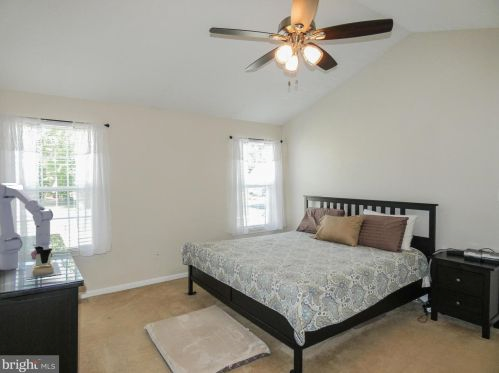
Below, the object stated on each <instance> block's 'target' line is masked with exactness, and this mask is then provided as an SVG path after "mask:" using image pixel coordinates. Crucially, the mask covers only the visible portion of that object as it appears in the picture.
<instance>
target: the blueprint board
mask: <svg viewBox="0 0 499 373" xmlns="http://www.w3.org/2000/svg"><path fill="white" fill-rule="evenodd" d="M24 273H25V274H24V279H25V281H30V280H31V281H32V280H36V279H37V280H38V279H45V278H50V277H58V276H62V271H61V269H60V266H59V262H58V261H54V262H52V261H51V263H50V264H48V265H42V266H36V263H35V264H30V265H25V272H24Z"/></svg>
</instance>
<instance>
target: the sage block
mask: <svg viewBox="0 0 499 373" xmlns="http://www.w3.org/2000/svg"><path fill="white" fill-rule="evenodd" d="M51 253H52V252H51ZM51 253H50V255H49V258H48V262H47V263H44V264H42V262H41V257H40V254H38V255H36V259H35V264H36V266H42V265H48V264H50V263H52V261H51V260H52V259H51V258H52V257H51Z"/></svg>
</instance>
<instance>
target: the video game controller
mask: <svg viewBox="0 0 499 373" xmlns="http://www.w3.org/2000/svg"><path fill="white" fill-rule="evenodd" d="M50 253H51V258H53V253H52V251H51V252H50ZM36 255H38V254H37V251H36V249H34V250H32V251H31V253H30V256H31V259H32V260H36Z"/></svg>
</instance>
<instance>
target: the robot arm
mask: <svg viewBox="0 0 499 373" xmlns="http://www.w3.org/2000/svg"><path fill="white" fill-rule="evenodd" d="M24 189H25V188H24V186H23V185H22V184H21V183H19V182H16V183H6V182H5V183H3V182H0V232H1V234H0V270H1V271H8V270H10V271H11V270H13V269H17V268H19V252H20V251H21V249H22V248H23V245H24V243H23V240H22V238H21V235H20V234H19V233H17V232H15V225H14V218H13V212H12V211H13V210H12V204H11V203H12V201H14V200H15V199H18V200H19V201H20V202H22V204H24V209H26V210H27V212H29V213H30V214H31V216H32V220H33V222H34V225H35V243H33V244H32V246H33V247H34V250H36V251H37V254H40V257H41V262H42V264H44V263H47V262H48V258H49V255H50V252H51V253H52V250H53V248H50V245H51V221H52V219H53V217H54V213H53V211H52V210H51V208H46V207H44V206H43V205H42V204H41V203H40V202H39V201H38V200H37V199H32V198H31V197H30V196H29V195H28V194H27V193H26V192H25V190H24Z"/></svg>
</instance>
